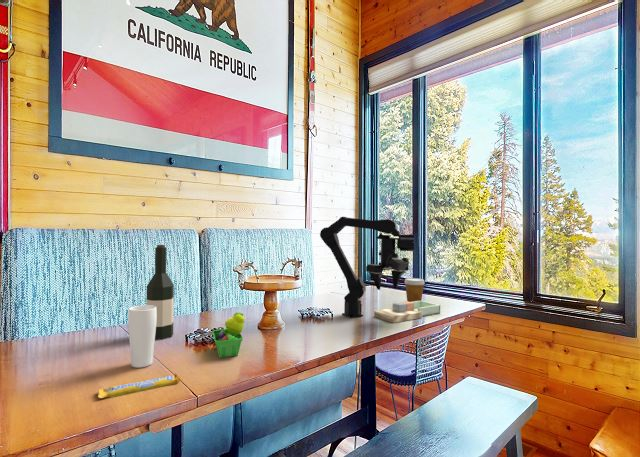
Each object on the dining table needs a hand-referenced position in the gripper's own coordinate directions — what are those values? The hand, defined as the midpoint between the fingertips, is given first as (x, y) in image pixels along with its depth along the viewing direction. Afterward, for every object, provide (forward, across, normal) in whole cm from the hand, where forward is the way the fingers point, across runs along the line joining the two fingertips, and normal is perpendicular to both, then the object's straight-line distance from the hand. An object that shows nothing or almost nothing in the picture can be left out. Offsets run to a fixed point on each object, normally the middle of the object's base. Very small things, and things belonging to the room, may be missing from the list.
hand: (387, 288), depth 150 cm
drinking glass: (+13, -91, -2) cm, 92 cm away
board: (+12, +5, -1) cm, 13 cm away
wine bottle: (+13, -82, +22) cm, 85 cm away
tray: (+12, +20, 0) cm, 24 cm away
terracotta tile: (+10, +11, -1) cm, 15 cm away
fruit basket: (+12, -68, -4) cm, 69 cm away
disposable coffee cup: (+12, +31, +13) cm, 36 cm away
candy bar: (+13, -93, -17) cm, 96 cm away
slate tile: (+10, +7, -1) cm, 12 cm away
